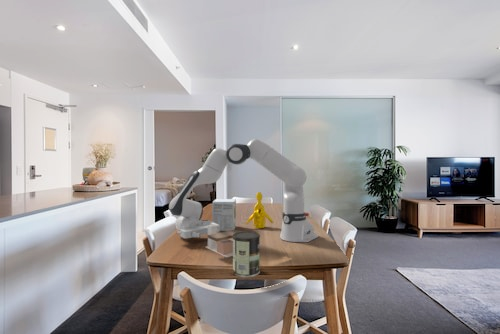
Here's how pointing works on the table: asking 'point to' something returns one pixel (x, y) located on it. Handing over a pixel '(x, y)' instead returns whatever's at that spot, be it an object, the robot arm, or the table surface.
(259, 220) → the figure statuette
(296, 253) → the table surface
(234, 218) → the supplement box
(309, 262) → the table surface
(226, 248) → the cube
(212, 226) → the white pillar stand
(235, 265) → the coffee can
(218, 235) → the shelf
